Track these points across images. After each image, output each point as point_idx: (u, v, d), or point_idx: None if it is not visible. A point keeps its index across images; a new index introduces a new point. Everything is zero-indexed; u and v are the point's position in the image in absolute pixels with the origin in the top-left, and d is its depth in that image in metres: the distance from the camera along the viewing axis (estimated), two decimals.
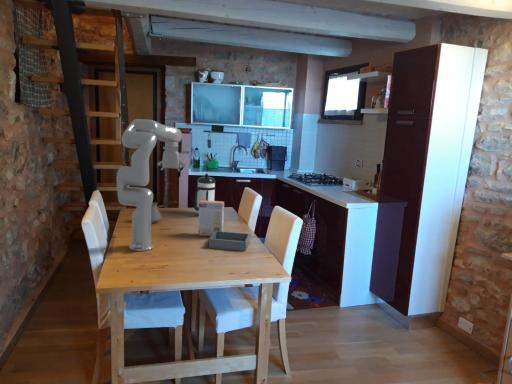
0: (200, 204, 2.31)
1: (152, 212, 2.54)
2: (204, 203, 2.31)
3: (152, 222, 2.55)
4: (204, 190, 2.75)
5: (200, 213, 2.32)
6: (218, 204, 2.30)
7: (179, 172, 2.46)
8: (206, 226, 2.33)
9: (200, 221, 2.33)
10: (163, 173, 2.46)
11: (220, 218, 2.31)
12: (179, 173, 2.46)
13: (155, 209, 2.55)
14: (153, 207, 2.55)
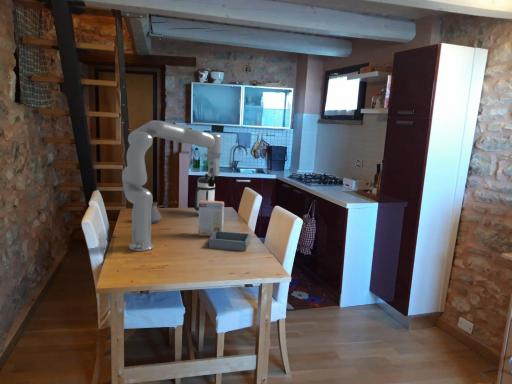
0: (200, 204, 2.31)
1: (152, 212, 2.54)
2: (204, 203, 2.31)
3: (152, 222, 2.55)
4: (204, 190, 2.75)
5: (200, 213, 2.32)
6: (218, 204, 2.30)
7: None
8: (206, 226, 2.33)
9: (200, 221, 2.33)
10: None
11: (220, 218, 2.31)
12: None
13: (155, 209, 2.55)
14: (153, 207, 2.55)
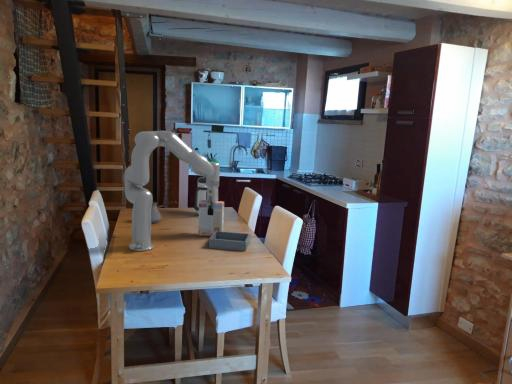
0: (200, 204, 2.31)
1: (152, 212, 2.54)
2: (204, 203, 2.31)
3: (152, 222, 2.55)
4: (204, 190, 2.75)
5: (200, 213, 2.32)
6: (218, 204, 2.30)
7: None
8: (206, 226, 2.33)
9: (200, 221, 2.33)
10: None
11: (220, 218, 2.31)
12: None
13: (155, 209, 2.55)
14: (153, 207, 2.55)
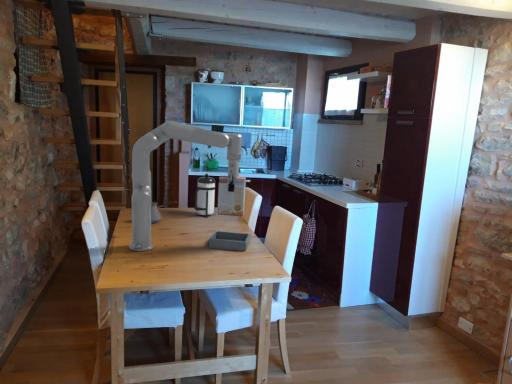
0: (220, 179, 2.12)
1: (152, 212, 2.54)
2: (224, 178, 2.12)
3: (152, 222, 2.55)
4: (204, 190, 2.75)
5: (220, 189, 2.13)
6: (240, 179, 2.11)
7: None
8: (226, 204, 2.14)
9: (220, 198, 2.14)
10: None
11: (242, 195, 2.13)
12: None
13: (155, 209, 2.55)
14: (153, 207, 2.55)
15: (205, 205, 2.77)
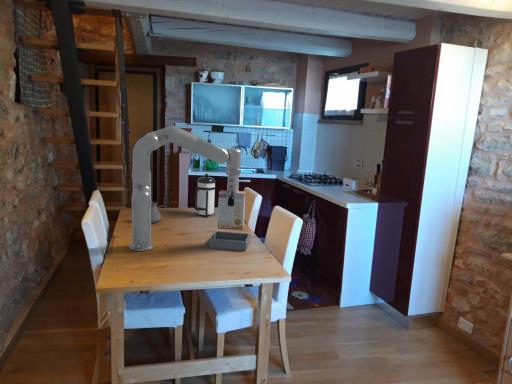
0: (220, 194, 2.14)
1: (152, 212, 2.54)
2: (224, 193, 2.14)
3: (152, 222, 2.55)
4: (204, 190, 2.75)
5: (220, 204, 2.15)
6: (239, 194, 2.13)
7: None
8: (226, 218, 2.16)
9: (220, 213, 2.16)
10: None
11: (241, 209, 2.14)
12: None
13: (155, 209, 2.55)
14: (153, 207, 2.55)
15: (205, 205, 2.77)
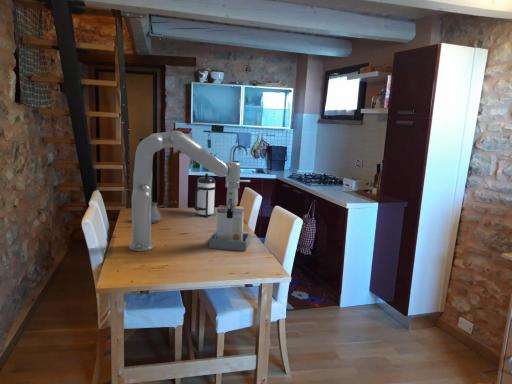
0: (218, 209, 2.16)
1: (152, 212, 2.54)
2: (223, 208, 2.15)
3: (152, 222, 2.55)
4: (204, 190, 2.75)
5: (218, 219, 2.17)
6: (238, 210, 2.15)
7: None
8: (224, 233, 2.17)
9: (218, 228, 2.17)
10: None
11: (240, 224, 2.16)
12: None
13: (155, 209, 2.55)
14: (153, 207, 2.55)
15: (205, 205, 2.77)
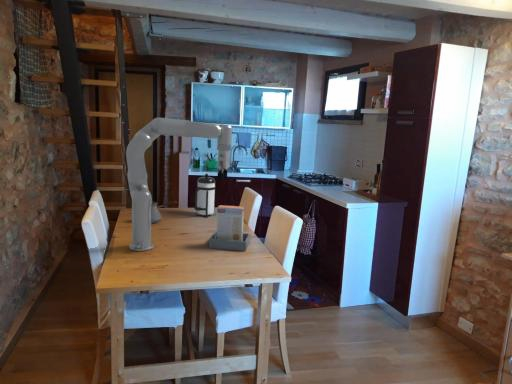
0: (218, 209, 2.16)
1: (152, 212, 2.54)
2: (223, 208, 2.15)
3: (152, 222, 2.55)
4: (204, 190, 2.75)
5: (218, 219, 2.17)
6: (238, 209, 2.15)
7: None
8: (224, 233, 2.18)
9: (218, 228, 2.17)
10: None
11: (240, 224, 2.16)
12: None
13: (155, 209, 2.55)
14: (153, 207, 2.55)
15: (205, 205, 2.77)
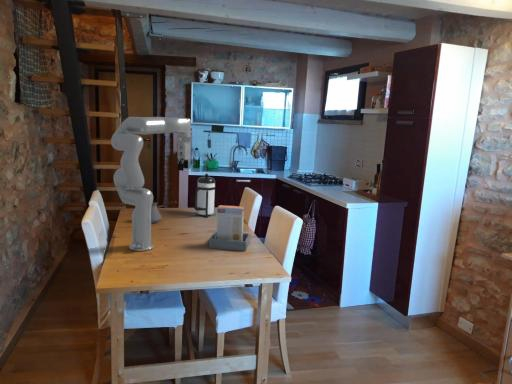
0: (218, 209, 2.16)
1: (152, 212, 2.54)
2: (223, 208, 2.15)
3: (152, 222, 2.55)
4: (204, 190, 2.75)
5: (218, 219, 2.17)
6: (238, 209, 2.15)
7: None
8: (224, 233, 2.18)
9: (218, 228, 2.17)
10: None
11: (240, 224, 2.16)
12: None
13: (155, 209, 2.55)
14: (153, 207, 2.55)
15: (205, 205, 2.77)
